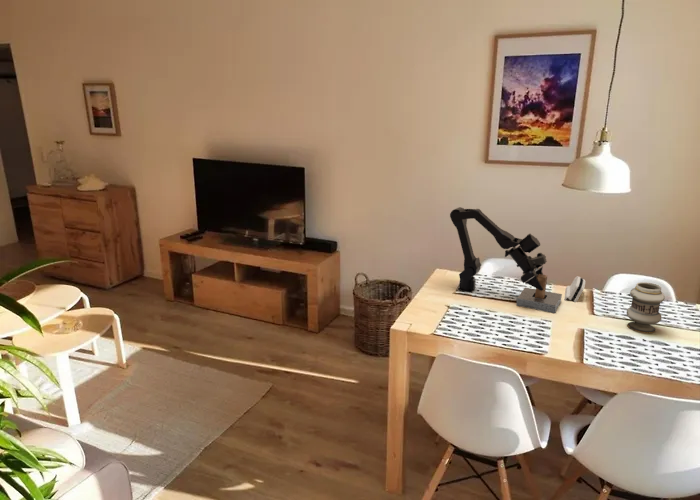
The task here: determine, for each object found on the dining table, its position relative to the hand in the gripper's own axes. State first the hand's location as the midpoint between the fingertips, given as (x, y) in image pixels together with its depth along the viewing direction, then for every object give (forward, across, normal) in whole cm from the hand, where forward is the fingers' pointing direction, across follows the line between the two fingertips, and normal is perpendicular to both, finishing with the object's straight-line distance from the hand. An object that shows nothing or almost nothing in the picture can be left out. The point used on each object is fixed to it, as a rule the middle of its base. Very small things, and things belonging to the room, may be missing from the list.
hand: (544, 286), depth 223 cm
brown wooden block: (+5, 0, +7) cm, 8 cm away
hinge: (+14, +19, -2) cm, 23 cm away
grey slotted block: (+5, 0, +7) cm, 8 cm away
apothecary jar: (+33, -5, -22) cm, 40 cm away
